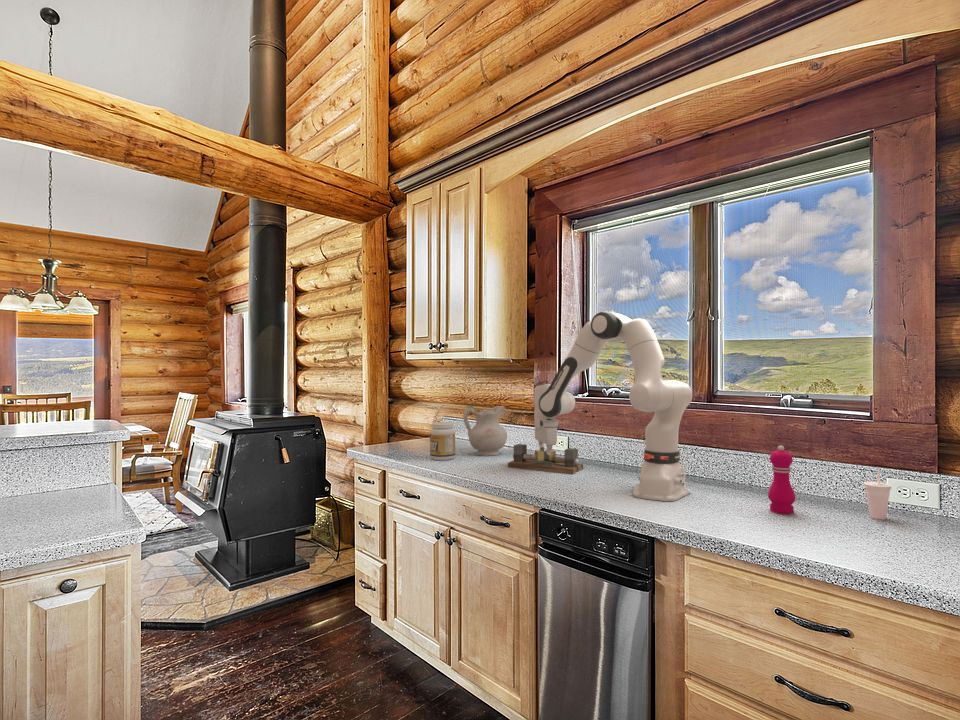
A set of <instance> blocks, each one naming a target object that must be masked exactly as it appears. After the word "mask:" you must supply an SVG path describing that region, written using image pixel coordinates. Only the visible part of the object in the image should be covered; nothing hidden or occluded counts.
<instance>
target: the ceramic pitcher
mask: <svg viewBox="0 0 960 720" xmlns="http://www.w3.org/2000/svg"><path fill="white" fill-rule="evenodd" d="M506 412H507V410H506V407H505V406H503V405H501V406H500V405H495V406H494V407H492V408H491V409H486V408H484V409H482V410H481V411H480V412H478V411H476V410H475V409H474V405H472V404H471V405H470V404H469V405H467V406H465V408H464V410H463V413H462V414H463V415H462V418H463V419H462V420H463V423H464V426H465V427H466V429H467V436H468V440H469V443H470V445H471V447H472V448H473V449H475V450H477V452H476V453H475V454H476V455H477V456H482V457H488V456H500V455H502V453H500V452H499V450H501V449H502V448H504V447H505V445H506V443H507V439H508V432H507V430H506V429H505V428H504V427H503V426H501V424H500V421H499V419H500V417H501V415H502V414H503V413H506ZM469 413H471V414H472V415H474V417H475V420H476V421H475V425H474V426H473V427H472V428H471V426H470V425H471V424H470V423H469V422H470V421H468V415H469Z"/></svg>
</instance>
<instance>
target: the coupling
mask: <svg viewBox="0 0 960 720" xmlns="http://www.w3.org/2000/svg"><path fill="white" fill-rule="evenodd" d="M534 455H535V460H537V461H544V460H547V459H548V460H549V461H551V460H555V457H557V455H556V450H555V449H553V448H552V450H551V455H547V454H546V450H544V451H542V450H540V449H534Z"/></svg>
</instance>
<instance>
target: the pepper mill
mask: <svg viewBox="0 0 960 720" xmlns="http://www.w3.org/2000/svg"><path fill="white" fill-rule="evenodd" d="M793 459H794V458H793V456H792V454H791V453H790V452H788V451H786V450H785V447H784V446H783V445H778V446H777V450H775V451H774V450H773V451H772V452H771V453H770V456H769V461H770V463H771V464H772V466H771V471H772V472H773V480H772V483H771V485H770V487H769V489H768V493H767V497H768V500H769V501H770V502H771V503H770V504H769V510H770V511H771V512H772V513H776V514H779V515H780V514H781V515H782V514H783V515H791V514H794V511H795V509H794V506H793V504H794V503H795V502H796V494H795V491H794V489H793V487H792V485H791V482H790V473H791V472H792V471H791V469H792V468H791V466H792V464H793V461H794V460H793Z"/></svg>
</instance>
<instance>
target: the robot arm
mask: <svg viewBox="0 0 960 720" xmlns="http://www.w3.org/2000/svg"><path fill="white" fill-rule="evenodd" d="M609 341H610V342H611V343H612V342H613V343H619V344H625V345H626V348H627V351H628V354H629V357H630V359H631V364H632V366H633V369H634V383H633V385H632V386H631V388H630V389H629V394H628V397H629V398H628V399H629V403H630V404H631V406H632V407H633V408H634V410H637V411H640V412H646V413H654V414H653V416H652V419H651V420H650V422H649V423H648V424H647V425H646V427H645V429H644V431H645V437H644V438H645V442H644V443H645V444H644V445H645V449H644V451H643V462H642V463H641V465H640V466H641V467H640V473H639V474H640V475H639V476H638V480H639V482H638V483H637V482H636V483H635V485H634V489H633V491H632V496H633V497H635V498H639V499H644V500H645V499H646V500H652V501H653V500H654V501H660V502H661V501H662V502H676V501H678V500H679V499H681V498H684V497H685V496H687V495H689V494H691V489H689V488H686V475H685V474H686V473H685V471H686V470H685V468H684V466H683V465H681V463H680V461H681V460H680V459H681V453H680V450H679V430H680V429H679V428H680V424H681V421H682V417H683V414H684V413H685V410H686V409H687V407H689V405H690V404H691V403H692V400H693V390H692V388H691V386H690V385H689V384H688V383H686V382H683V381H681V380H677V379H663V378H662V375H661V370H662V368H663V366H664V365H665V362H666V361H665V359H666V358H665V356H664V353H663V351H662V348H661V346H660V344H659V341H658V339H657V336H656V333H655V331H654V329H653V328H652V326H651V325H650V324H649V322H648V321H647V320H646V319H644V318H632V317H630V316H627V315H624V314H621V313H619V312H611V311H606V310H605V311H600V312H597V313H595V315H594V316H593V317H592V318H591V320H590V321H587V322H586V323H585V324H584V326H582V328H581V329H580V331H579V333H578V335H577V337H576V339H575V340H574V343H573V344H572V345H573V346H572V347H571V349H570V351H569V353H568V355H567V357H565V359H564V361H563V362H562V363H561V365H560V367H559V368H558V370H557V372H556V374H555V375H554V377H553V379H552V381H551V382H545V383H541V384H538V385H536V386H535V388H534V393H533V394H534V395H533V405H534V415H533V416H534V417H533V419H534V420H533V421H534V439H535V440H536V441H537V442H538V447H539V450H542V451H546V454H547V455H551V450H552V449H553V446H556V445H557V441H558V428H557V427H559V422H558V420H557V418H556V416H561V415H565V414H569V413H571V412H573V410H575V408H576V397H575V396H574V395H573V393H572V392H570V391H566V390H567V388H568V386H569V385H570V382H571V381H572V379H574V377H575V376H577V375H578V374H579V373H582V372H584V371H586V370H588V369H590V368H591V367H593V365H594V364H595V363H596V362H597V360H598V358H599V356H600V355H601V353H602V349H603V348H604V345H605V344H606V343H607V342H609ZM544 444H545V445H546V450H545V446H544Z"/></svg>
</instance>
